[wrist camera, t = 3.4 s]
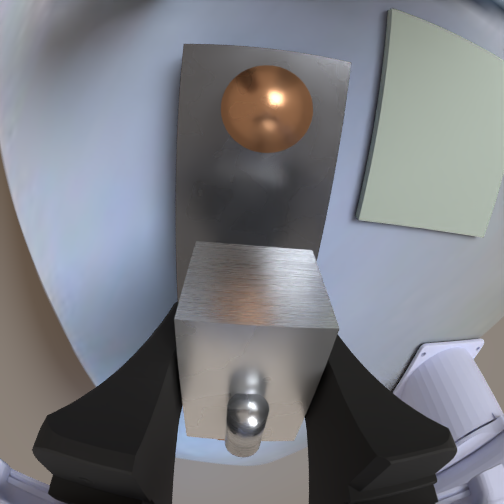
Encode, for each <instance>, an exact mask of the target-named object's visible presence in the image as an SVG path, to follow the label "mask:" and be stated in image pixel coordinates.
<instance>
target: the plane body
mask: <svg viewBox="0 0 504 504" xmlns="http://www.w3.org/2000/svg"><path fill="white" fill-rule="evenodd" d="M350 68H351V62H346V61H342V60H337V59H332V58H327V57H322V56H317V55H311V54H305V53H299V52H292V51H285V50H277V49H268V48H259V47H248V46H234V45H214V44H184V46H183V57H182V68H181V80H180V94H179V110H178V129H177V154H176V269H177V295H178V302H179V299H180V296H181V292H182V289H183V285H184V282H185V278H186V274H187V271H188V268H189V264H190V261H191V257H192V254H193V250H194V247H195V244H196V241H200V242H213V243H226V244H239V245H252V246H265V247H278V248H290V249H303V250H312V251H313V254H314V256H315V259H316V261H317V257H318V253H319V248H320V243H321V239H322V234H323V229H324V225H325V220H326V215H327V210H328V205H329V200H330V194H331V189H332V184H333V178H334V173H335V167H336V162H337V156H338V150H339V144H340V138H341V132H342V126H343V119H344V112H345V106H346V99H347V91H348V84H349V76H350ZM218 440H225V439H218Z"/></svg>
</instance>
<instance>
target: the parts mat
mask: <svg viewBox="0 0 504 504" xmlns="http://www.w3.org/2000/svg"><path fill="white" fill-rule="evenodd" d="M503 173H504V60H502V59H500V58H499V57H497V56H495V55H494V54H492V53H490V52H488V51H487V50H485V49H483V48H481V47H480V46H478V45H476V44H474V43H472V42H470V41H468V40H466V39H464V38H462V37H460V36H458V35H456V34H454V33H452V32H450V31H448V30H446V29H444V28H441V27H439V26H437V25H435V24H432V23H430V22H427V21H425V20H423V19H420V18H418V17H415V16H413V15H410V14H407V13H405V12H402V11H399V10H396V9H393V8H392V9H390V10H388V15H387V28H386V39H385V48H384V58H383V66H382V74H381V82H380V89H379V96H378V103H377V109H376V116H375V122H374V128H373V133H372V139H371V145H370V150H369V155H368V160H367V165H366V170H365V175H364V180H363V185H362V189H361V194H360V199H359V203H358V207H357V212H356V217H357V219H358V220H362V221H370V222H378V223H386V224H394V225H401V226H409V227H416V228H423V229H430V230H437V231H444V232H451V233H457V234H464V235H470V236H476V237H482V238H483V237H484V235H485V232H486V229H487V226H488V223H489V220H490V217H491V214H492V211H493V208H494V205H495V202H496V198H497V195H498V192H499V188H500V185H501V181H502V177H503Z"/></svg>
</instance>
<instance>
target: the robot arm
mask: <svg viewBox="0 0 504 504" xmlns="http://www.w3.org/2000/svg"><path fill="white" fill-rule="evenodd" d="M178 303H179V302H176V303H175V304H174V305H173V307H172V309H171V310H170V312H169V313H168V314H167V316H166V317H165V319H164V320H163V321H162V323H161V324H160V325H159V327H158V328H157V329H156V330H155V331H154V333H153V334H152V335H151V336H150V338H149V339H148V340H147V341H146V342H145V343H144V344H143V346H142V347H141V348H140V349H139V350H138V351H137V352H136V353H135V354H134V355H133V356H132V357H131V358H130V359H129V360H128V361H127V362H126V363H125V364H124V365H123V366H122V367H121V368H120V369H119V370H117V371H116V372H115V373H114V374H113V375H111V376H110V377H109V378H108V379H106V380H105V381H104V382H103V383H101V384H100V385H99V386H97V387H96V388H95V389H93V390H91V391H90V392H88V393H87V394H85V395H84V396H82V397H81V398H79V399H78V400H76V401H74V402H73V403H71V404H70V405H67V406H65V407H63V408H61V409H59V410H58V411H56V412H54V413H52V414H49V415H47V417H46V419H45V421H44V423H43V424H42V426H41V428H40V431H39V433H38V436H37V438H36V441H35V443H34V446H33V449H32V451H33V454H34V456H35V457H36V458H37V459H38V461H40V463H42V465H44V466H45V467H46V468H47V469H48V470H49V471H50V472H51V473H52V474H53V477H52V480H51V484H50V485H48V484H45V483H43V482H40V481H38V480H36V479H33V478H31V477H29V476H26V475H24V474H22V473H20V472H18V471H16V470H13V469H12V468H10V466H9V465H8V464H7V463H6V462H4V461H3V460H2V459H0V504H172V492H173V475H174V462H175V452H176V442H177V433H178V424H179V418H180V413H181V409H182V405H183V403H182V395H181V387H180V378H179V368H178V358H177V347H176V336H175V323H174V318H175V314H176V311H177V307H178ZM483 344H484V341H483V339H472V340H462V341H451V342H438V343H426V344H423V345H422V346H421V347H420V348H419V350H418V352H417V353H416V355H415V357H414V359H413V360H412V362H411V364H410V365H409V367H408V369H407V370H406V372H405V374H404V375H403V377H402V378H401V380H400V382H399V383H398V385H397V386H396V388H395V390H394V391H393V393H392V392H391V391H389V390H388V389H387V388H386V387H385V386H384V385H382V384H381V383H380V382H379V381H378V380H377V379H376V378H375V377H374V376H373V375H372V374H371V373H370V372H369V371H368V370H367V369H366V368H365V367H364V366H363V365H362V364H361V363H360V361H359V360H358V359H357V358H356V357H355V356H354V355H353V353H352V352H351V351H350V350H349V348H348V347H347V346H346V345H345V343H344V342H343V341H342V340H341V338H340V337H339V336H338V334H337V337H336V339H335V342H334V345H333V348H332V350H331V353H330V356H329V358H328V361H327V364H326V366H325V369H324V371H323V374H322V376H321V379H320V381H319V384H318V386H317V389H316V391H315V394H314V396H313V399H312V401H311V403H310V406H309V408H308V410H307V413H306V415H305V421H306V428H307V440H308V458H309V504H504V414H503V412H502V410H501V408H500V406H499V404H498V402H497V400H496V399H495V397H494V395H493V393H492V391H491V389H490V388H489V386H488V384H487V382H486V381H485V379H484V377H483V375H482V373H481V372H480V370H479V368H478V367H477V365H476V363H475V362H474V358H475V357H476V355H477V353H478V352H479V350H480V349H481V347H482V346H483Z"/></svg>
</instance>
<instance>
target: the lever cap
mask: <svg viewBox="0 0 504 504" xmlns="http://www.w3.org/2000/svg"><path fill="white" fill-rule="evenodd" d="M174 323H175V336H176V347H177V358H178V368H179V378H180V387H181V395H182V403H183V411H184V419H185V426H186V433H187V436H190V437H200V438H212V439H225V446H226V448H227V450H228V451H229V452H230V453H231V454H233V455H235V456H238V457H248V456H251V455H253V454H255V453H256V452H257V450H258V449H259V446H260V443H261V441H294V439H295V437H296V435H297V433H298V431H299V428H300V426H301V424H302V422H303V420H304V417H305V415H306V413H307V410H308V408H309V406H310V403H311V401H312V399H313V396H314V394H315V391H316V389H317V386H318V384H319V381H320V379H321V376H322V374H323V371H324V369H325V366H326V364H327V361H328V358H329V356H330V353H331V350H332V348H333V345H334V342H335V339H336V337H337V334H338V331H339V326H338V323H337V320H336V317H335V314H334V311H333V308H332V305H331V302H330V299H329V296H328V293H327V290H326V287H325V285H324V282H323V279H322V276H321V273H320V270H319V267H318V265H317V262H316V259H315V256H314V254H313V251H312V250H303V249H290V248H278V247H265V246H252V245H239V244H226V243H213V242H200V241H196V244H195V247H194V250H193V254H192V257H191V261H190V264H189V268H188V271H187V274H186V278H185V282H184V285H183V289H182V292H181V296H180V299H179V303H178V307H177V311H176V314H175V318H174Z"/></svg>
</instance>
